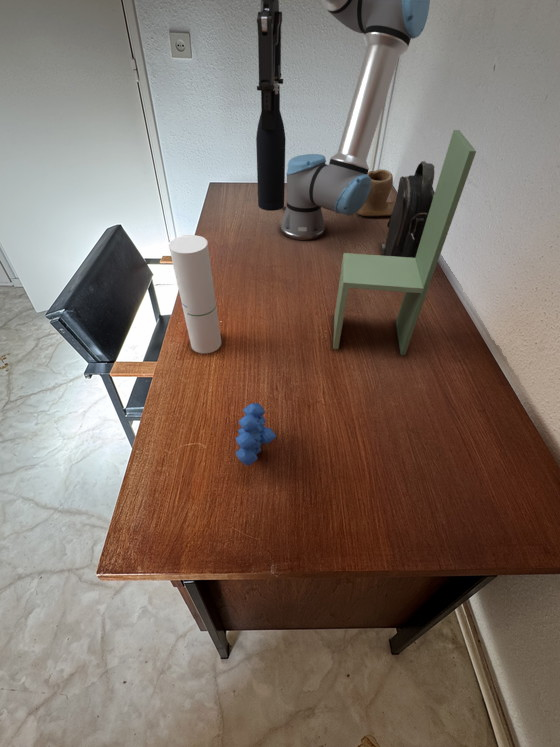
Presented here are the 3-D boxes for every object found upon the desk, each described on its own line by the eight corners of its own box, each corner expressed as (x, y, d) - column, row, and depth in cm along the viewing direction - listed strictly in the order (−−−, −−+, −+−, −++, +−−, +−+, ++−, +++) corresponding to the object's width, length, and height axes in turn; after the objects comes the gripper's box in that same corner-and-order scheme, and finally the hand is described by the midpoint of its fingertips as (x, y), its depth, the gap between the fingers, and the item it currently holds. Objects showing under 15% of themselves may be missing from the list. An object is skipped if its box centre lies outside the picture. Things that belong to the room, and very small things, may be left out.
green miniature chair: (334, 317, 95) (361, 125, 65) (399, 323, 94) (459, 129, 63) (333, 348, 87) (364, 145, 56) (405, 355, 86) (476, 151, 55)
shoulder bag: (417, 284, 106) (451, 180, 86) (385, 281, 107) (411, 177, 87) (409, 246, 122) (436, 150, 101) (381, 244, 122) (402, 149, 102)
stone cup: (356, 221, 135) (364, 176, 124) (353, 207, 143) (359, 165, 132) (398, 221, 134) (409, 177, 124) (392, 208, 143) (401, 165, 132)
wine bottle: (281, 212, 88) (283, 45, 67) (255, 209, 89) (249, 43, 68) (286, 201, 93) (290, 41, 71) (261, 199, 94) (258, 40, 72)
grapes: (270, 485, 63) (269, 446, 54) (231, 479, 64) (225, 440, 55) (281, 429, 71) (282, 388, 62) (246, 424, 72) (243, 383, 63)
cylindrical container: (209, 329, 91) (192, 231, 73) (227, 343, 88) (215, 244, 70) (185, 343, 88) (161, 243, 70) (203, 357, 84) (183, 257, 66)
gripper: (257, -35, 69) (261, 114, 86) (236, -40, 56) (244, 136, 73) (297, -35, 68) (293, 116, 85) (284, -40, 55) (282, 138, 72)
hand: (270, 125), depth 79 cm, fingers closed on wine bottle, 5 cm apart
